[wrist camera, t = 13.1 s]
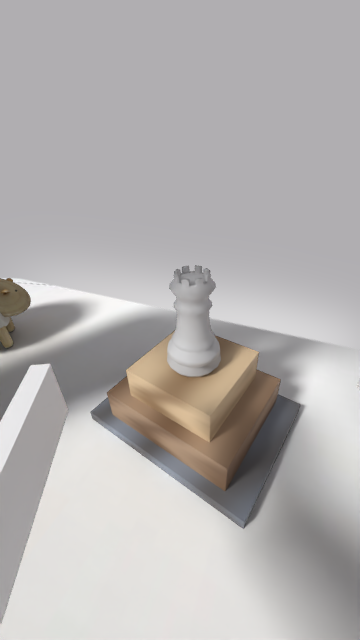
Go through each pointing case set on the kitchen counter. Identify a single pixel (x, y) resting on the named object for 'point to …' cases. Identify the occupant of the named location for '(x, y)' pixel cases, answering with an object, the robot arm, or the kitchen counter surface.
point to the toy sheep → (10, 308)
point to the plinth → (204, 424)
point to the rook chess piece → (193, 324)
